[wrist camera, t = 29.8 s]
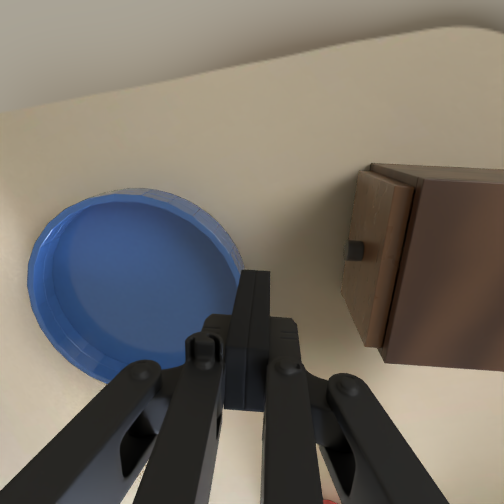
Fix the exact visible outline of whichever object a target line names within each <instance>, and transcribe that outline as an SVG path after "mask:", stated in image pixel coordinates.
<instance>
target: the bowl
mask: <svg viewBox="0 0 504 504" xmlns="http://www.w3.org/2000/svg"><path fill="white" fill-rule="evenodd" d="M241 270H245V267H244V264H243V261H242V258H241V256H240V253H239V251H238V249H237V247H236V245H235V244H234V242H233V241H232V239H231V238H230V236H229V234H228V233H227V232H226V231H225V230H224V229H223V227H222V226H221V225H220V224H219V223H218V222H217V221H216V220H215V219H214V218H213V217H212V216H210V215H209V214H208V213H207V212H205V211H204V210H202V209H201V208H200V207H198V206H197V205H195V204H193V203H191V202H189V201H188V200H186V199H184V198H181V197H179V196H176V195H174V194H171V193H167V192H163V191H159V190H154V189H146V188H127V189H120V190H114V191H111V192H105V193H102V194H99V195H96V196H93V197H90V198H88V199H85V200H83V201H81V202H79V203H77V204H75V205H72V206H70V207H68V208H66V209H64V210H63V211H62V212H61V213H60V214H59V215H57V216H56V217H55V218H54V219H53V220H51V221H50V222H49V223H48V224H47V225H46V227H45V228H44V230H43V231H42V233H41V234H40V236H39V237H38V239H37V240H36V242H35V244H34V247H33V250H32V253H31V256H30V260H29V263H28V276H27V288H28V293H29V298H30V303H31V307H32V310H33V313H34V315H35V317H36V319H37V322H38V324H39V326H40V328H41V330H42V331H43V332H44V334H45V335H46V337H47V338H48V339H49V341H50V342H51V344H52V345H53V346H54V348H55V349H56V350H57V351H58V352H60V353H61V354H62V355H63V356H64V357H65V358H66V359H67V360H68V361H69V362H70V363H71V364H73V365H74V366H76V367H77V368H78V369H80V370H81V371H83V372H84V373H86V374H87V375H89V376H91V377H93V378H95V379H97V380H100V381H102V382H104V383H106V384H108V383H109V382H110V381H111V380H112V379H113V378H114V377H115V376H116V375H117V374H118V373H119V372H120V371H121V370H122V369H123V368H124V367H126V366H127V365H129V364H130V363H132V362H135V361H138V360H145V359H146V360H153V361H155V362H157V363H159V365H160V366H161V370H162V369H169V368H174V367H178V366H180V365H183V364H184V363H185V361H186V360H185V340H186V339H187V337H188V336H190V335H192V334H193V333H197V332H201V330H202V328H203V324H204V321H205V319H206V318H207V317H209V316H210V315H211V314H226V315H232V311H233V306H234V302H235V297H236V293H237V288H238V284H239V279H240V275H241Z"/></svg>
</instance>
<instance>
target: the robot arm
mask: <svg viewBox="0 0 504 504" xmlns="http://www.w3.org/2000/svg"><path fill="white" fill-rule="evenodd" d="M185 360H186V361H185V363H184V364H183V365H180V366H178V367H174V368H169V369H162V370H161V366H160V365H159V363H157V362H155V361H153V360H146V359H145V360H138V361H135V362H132V363H130V364H129V365H127V366H126V367H124V368H123V369H122V370H121V371H120V372H119V373H118V374H117V375H116V376H115V377H114V378H113V379H112V380H111V381H110V382H109V383H108V384H107V385H106V386H105V387H104V388H103V389H102V390H101V391H100V392H99V393H98V394H97V395H96V396H95V397H94V398H93V399H92V400H91V401H90V402H89V403H88V404H87V405H86V406H85V407H84V408H83V409H82V410H81V411H80V412H79V413H78V414H77V415H76V416H75V417H74V418H73V419H72V420H71V421H70V422H69V423H68V424H67V425H66V426H65V427H64V428H63V429H62V430H61V431H60V432H59V433H58V434H57V435H56V436H55V437H54V438H53V439H52V440H51V441H50V442H49V443H48V444H47V445H46V446H45V447H44V448H43V449H42V450H41V451H40V452H39V453H38V454H37V455H36V456H35V457H34V458H33V459H32V460H31V461H30V462H29V463H28V464H27V465H26V466H25V467H24V468H23V469H22V470H21V471H20V472H19V473H18V474H17V475H16V476H15V477H14V478H13V479H12V480H11V481H10V482H9V483H8V484H7V485H6V486H5V487H4V488H3V489H2V490H1V491H0V504H120V503H121V501H122V500H123V498H124V497H125V495H126V493H127V492H128V490H129V489H130V487H131V486H132V484H133V483H134V481H135V480H136V478H137V476H138V475H139V473H140V472H141V470H142V469H143V467H144V466H145V464H146V463H147V461H148V459H149V461H148V463H147V466H146V469H145V471H144V474H143V477H142V479H141V482H140V485H139V487H138V490H137V493H136V496H135V498H134V501H133V504H208V502H209V496H210V490H211V485H212V479H213V473H214V467H215V461H216V455H217V449H218V443H219V437H220V431H221V425H222V409H223V404H224V409H229V410H242V411H255V412H264V418H263V432H262V469H261V497H260V504H323V496H322V489H321V481H320V474H319V466H318V459H317V451H316V444H315V443H317V444H319V448H320V451H321V454H322V456H323V459H324V461H325V464H326V466H327V469H328V471H329V473H330V476H331V478H332V481H333V483H334V486H335V488H336V491H337V493H338V495H339V498H340V500H341V503H342V504H449V502H448V501H447V499H446V498H445V496H444V495H443V494H442V492H441V491H440V489H439V488H438V486H437V485H436V483H435V482H434V481H433V479H432V478H431V476H430V475H429V473H428V472H427V471H426V469H425V468H424V466H423V465H422V463H421V462H420V460H419V459H418V458H417V456H416V455H415V453H414V452H413V450H412V449H411V447H410V446H409V445H408V443H407V442H406V440H405V439H404V437H403V436H402V434H401V433H400V432H399V430H398V429H397V427H396V426H395V424H394V423H393V421H392V420H391V419H390V417H389V416H388V414H387V413H386V411H385V410H384V408H383V407H382V406H381V404H380V403H379V401H378V400H377V398H376V397H375V396H374V394H373V393H372V391H371V390H370V388H369V387H368V385H367V384H366V383H365V382H364V381H363V380H362V379H360V378H358V377H356V376H354V375H351V374H348V373H338V374H334V375H333V376H331V377H330V378H329V380H328V381H327V380H324V379H321V378H318V377H316V376H314V375H312V374H310V373H309V372H308V371H307V370H306V369H305V367H304V365H303V364H302V361H301V353H300V345H299V337H298V329H297V324H296V323H295V322H294V321H293V319H292V318H282V317H270V271H256V270H241V275H240V279H239V284H238V288H237V293H236V297H235V302H234V306H233V311H232V315H226V314H211V315H210V316H209V317H207V318H206V319H205V321H204V324H203V328H202V330H201V332H197V333H193V334H192V335H190V336H188V337H187V339H186V340H185Z"/></svg>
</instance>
